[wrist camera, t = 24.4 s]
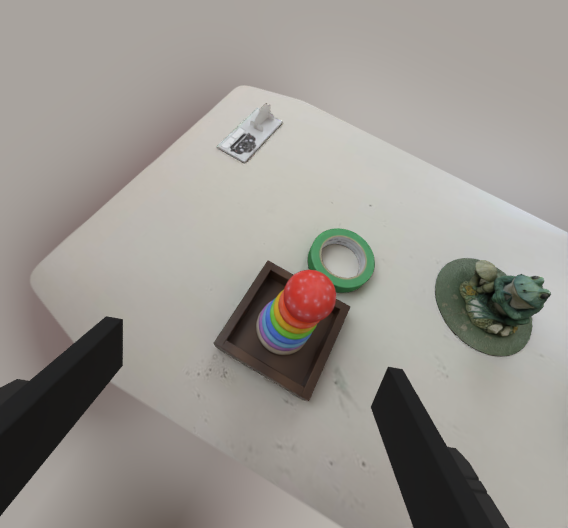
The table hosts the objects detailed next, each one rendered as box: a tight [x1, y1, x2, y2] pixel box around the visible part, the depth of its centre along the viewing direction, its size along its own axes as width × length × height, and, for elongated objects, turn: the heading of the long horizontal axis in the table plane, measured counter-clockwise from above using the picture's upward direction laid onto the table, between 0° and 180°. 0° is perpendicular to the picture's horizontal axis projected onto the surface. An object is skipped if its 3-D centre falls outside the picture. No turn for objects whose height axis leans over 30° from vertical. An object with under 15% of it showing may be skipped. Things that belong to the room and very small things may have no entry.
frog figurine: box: [436, 258, 551, 356], centre depth 43 cm, size 18×18×12 cm
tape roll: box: [308, 229, 375, 293], centre depth 46 cm, size 11×11×3 cm
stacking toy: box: [256, 270, 336, 355], centre depth 32 cm, size 8×8×19 cm
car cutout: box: [217, 103, 283, 163], centre depth 55 cm, size 15×7×4 cm, turn 150°
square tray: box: [214, 261, 350, 401], centre depth 39 cm, size 14×14×4 cm
